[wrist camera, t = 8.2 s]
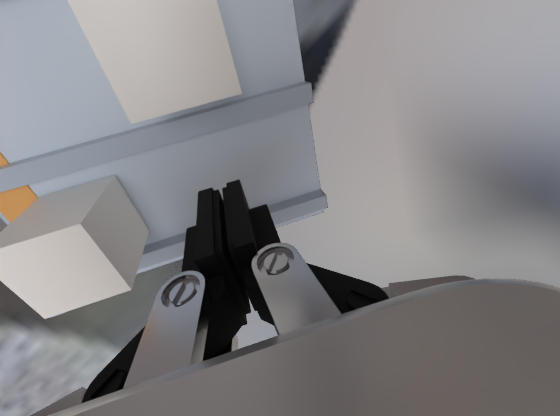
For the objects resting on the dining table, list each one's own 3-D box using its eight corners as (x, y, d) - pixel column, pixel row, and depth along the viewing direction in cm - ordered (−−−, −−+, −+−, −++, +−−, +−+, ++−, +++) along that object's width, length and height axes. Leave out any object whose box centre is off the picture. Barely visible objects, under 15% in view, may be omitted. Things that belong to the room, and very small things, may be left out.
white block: (114, 174, 15) (80, 223, 11) (149, 230, 17) (131, 289, 13) (39, 196, 14) (-28, 256, 10) (84, 251, 16) (44, 318, 12)
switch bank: (209, -436, 8) (213, -720, 5) (314, 199, 21) (333, 224, 18) (-544, -381, 7) (-1213, -767, 3) (71, 278, 20) (47, 320, 16)
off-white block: (201, -18, 12) (201, -56, 7) (229, 80, 14) (242, 93, 10) (109, 3, 11) (54, -25, 7) (153, 101, 13) (131, 124, 9)
